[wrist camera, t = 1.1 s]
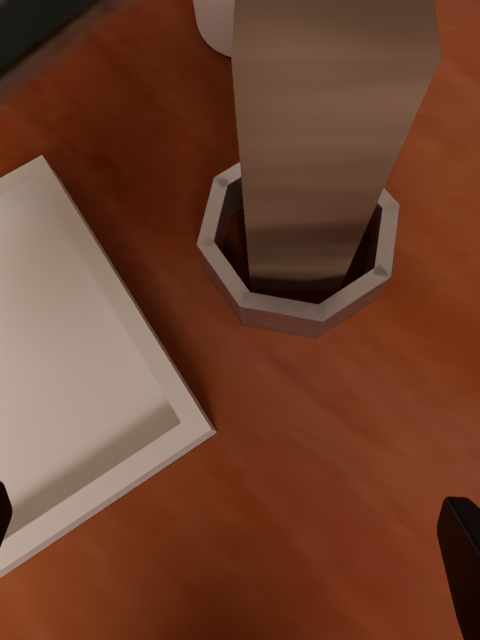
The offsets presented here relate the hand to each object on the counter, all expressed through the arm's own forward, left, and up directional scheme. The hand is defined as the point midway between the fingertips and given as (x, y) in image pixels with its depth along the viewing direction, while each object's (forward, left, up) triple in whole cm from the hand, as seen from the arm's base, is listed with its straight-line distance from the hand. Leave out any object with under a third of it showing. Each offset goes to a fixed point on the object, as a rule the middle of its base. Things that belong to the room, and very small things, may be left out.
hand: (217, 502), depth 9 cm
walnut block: (+9, -9, -13) cm, 18 cm away
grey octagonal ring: (+9, -9, -13) cm, 18 cm away
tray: (+12, +8, -13) cm, 19 cm away
